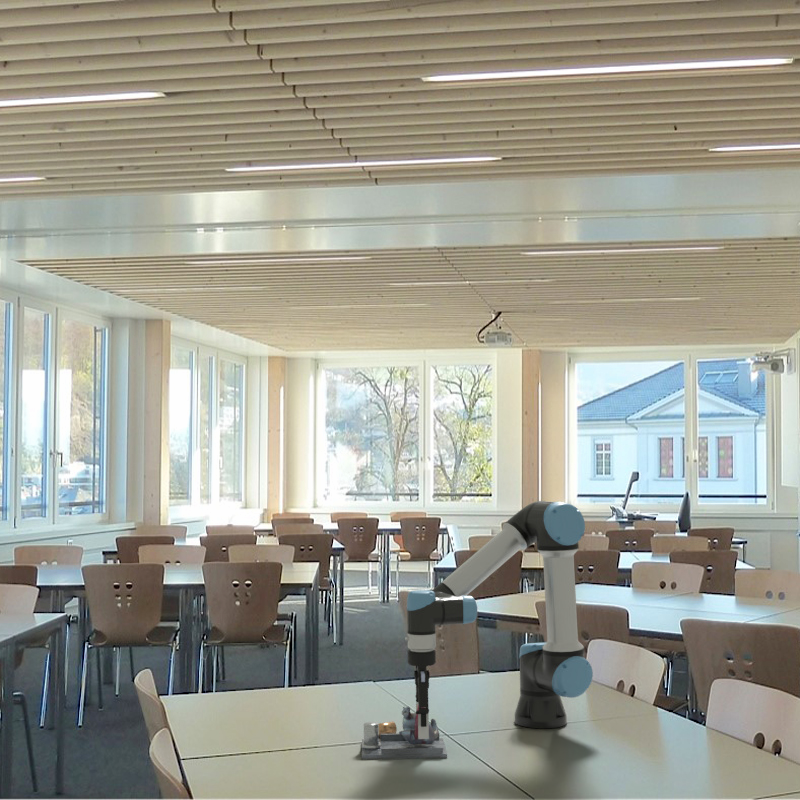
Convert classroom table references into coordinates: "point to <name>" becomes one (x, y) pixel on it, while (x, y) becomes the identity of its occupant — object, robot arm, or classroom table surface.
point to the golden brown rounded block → (387, 728)
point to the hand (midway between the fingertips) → (422, 733)
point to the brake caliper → (416, 728)
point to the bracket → (397, 746)
